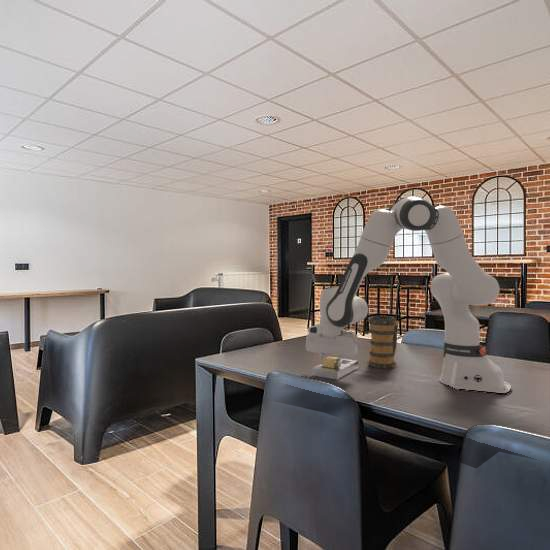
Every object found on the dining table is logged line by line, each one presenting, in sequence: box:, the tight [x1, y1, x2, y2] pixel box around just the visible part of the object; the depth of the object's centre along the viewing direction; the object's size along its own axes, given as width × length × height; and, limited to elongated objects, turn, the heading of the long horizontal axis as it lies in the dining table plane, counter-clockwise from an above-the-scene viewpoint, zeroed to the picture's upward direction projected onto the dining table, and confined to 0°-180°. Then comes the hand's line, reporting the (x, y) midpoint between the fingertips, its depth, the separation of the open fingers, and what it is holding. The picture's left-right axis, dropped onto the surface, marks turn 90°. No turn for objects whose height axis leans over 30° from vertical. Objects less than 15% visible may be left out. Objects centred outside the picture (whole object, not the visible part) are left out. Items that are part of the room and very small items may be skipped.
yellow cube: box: [323, 355, 339, 369], centre depth 155 cm, size 4×4×4 cm
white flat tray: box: [312, 358, 359, 381], centre depth 159 cm, size 10×20×3 cm, turn 147°
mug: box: [366, 315, 399, 370], centre depth 171 cm, size 13×17×20 cm
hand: (331, 365), depth 155 cm, fingers closed on yellow cube, 4 cm apart
